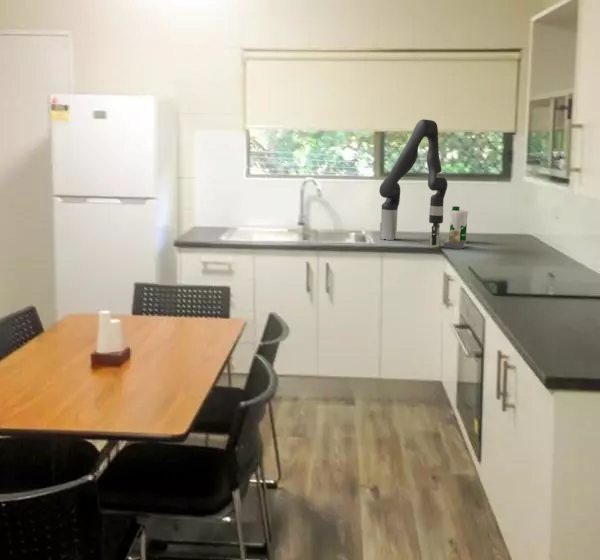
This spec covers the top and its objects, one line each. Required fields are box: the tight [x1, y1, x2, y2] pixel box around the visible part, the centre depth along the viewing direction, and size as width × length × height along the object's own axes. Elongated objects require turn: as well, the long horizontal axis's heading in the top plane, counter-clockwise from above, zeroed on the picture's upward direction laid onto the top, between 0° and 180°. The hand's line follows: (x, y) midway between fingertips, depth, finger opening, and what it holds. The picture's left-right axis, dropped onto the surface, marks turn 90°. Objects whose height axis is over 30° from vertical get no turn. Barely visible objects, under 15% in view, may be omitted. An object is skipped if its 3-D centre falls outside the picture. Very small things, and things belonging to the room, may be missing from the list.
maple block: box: [449, 230, 460, 242], centre depth 463 cm, size 5×5×6 cm
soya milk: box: [448, 205, 469, 242], centre depth 481 cm, size 9×9×20 cm
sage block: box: [429, 234, 441, 248], centre depth 462 cm, size 5×5×6 cm
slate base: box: [443, 239, 467, 249], centre depth 464 cm, size 11×11×3 cm
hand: (434, 244), depth 463 cm, fingers open, 7 cm apart
